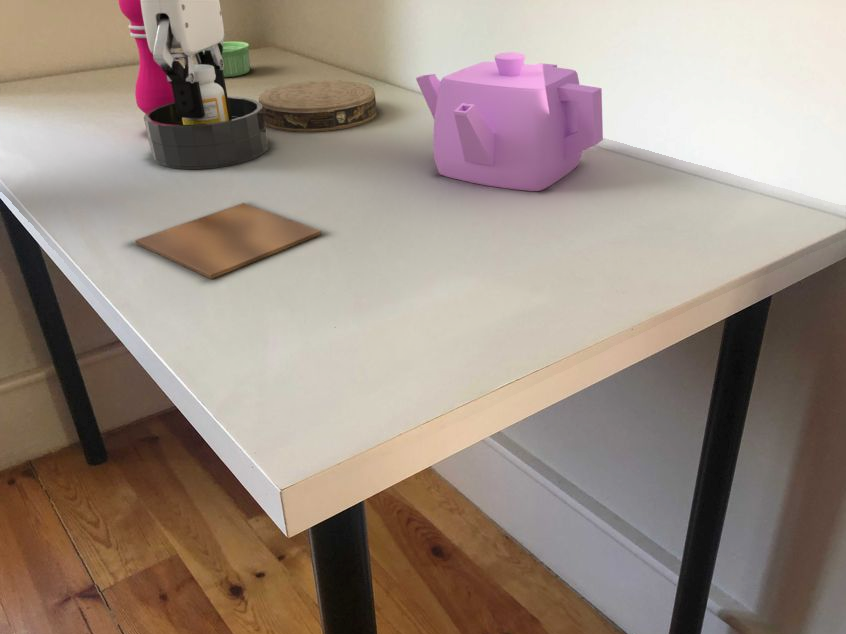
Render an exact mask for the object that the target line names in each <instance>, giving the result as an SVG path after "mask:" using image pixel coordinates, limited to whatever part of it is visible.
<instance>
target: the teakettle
mask: <svg viewBox="0 0 846 634" xmlns="http://www.w3.org/2000/svg"><path fill="white" fill-rule="evenodd" d="M525 60H526V55H525V54H523V53H520V52H500V53H497V54H495V55H494V61H482V62H479V63H476V64H473V65H469V66H467V67H464V68H462V69H460V70H456V71H454V72H452V73H450V74H447V75H445V76H443V77H442V79H441V80H440V79H439V78H438V77H437V74H436V73H431V74H423V75H420V76H417V77H416V78H415V79H416V82H417V85H418V87H419V90H420V92H421V93H422V95H423V98H424V101H425V102H426V105H427V107H428V109H429V111H430V114H431V116H432V118H433V134H432V136H433V138H432V144H433V145H432V151H433V152H432V153H433V159H434V163H435V165H436V168H437V171H438V173H439V175H440V176H444V177H446V178H450V179H455V180H459V181H463V182H467V183H472V184H477V185H481V186H482V185H483V186H487V187H495V188H502V189H509V190H517V191H526V192H541V191H544V190H545V189H547V188H549V187H550V186H553V185H554V184H556V183H557V182H558V181H560V180H561V179H562V178H564V177H565V176H567V175H568V174H570V173H571V172H572V171H573V170H574V169H576V168H577V167H578V165H579V164H580V161H581V158H582V155H583V152H584V151H586V150H588V149H590V148H593V147H595V146H597V145H598V144H599V143H601V142H603V141H604V131H603V130H604V129H603V128H604V127H603V93H602V91H603V90H602V87H597V86H596V87H595V86H590V85H583V84H580V79H579V74H578V72H577V71H576V70H575V69H570V68H564V67H558V64H552V63H543V62H540V63H537V64H528V63H525Z"/></svg>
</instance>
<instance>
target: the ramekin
mask: <svg viewBox="0 0 846 634" xmlns="http://www.w3.org/2000/svg"><path fill="white" fill-rule="evenodd" d="M204 52H205V51H203V53H204ZM222 59H223V62H224V67H223V69H219V70H223V74H224V78H233V77H239V76H242V75H245V74H248V73H249V72H250V70H251V63H250V44H249V43H248V42H246V41H245V42H244V41H233V40H232V41H224V42H223V52H222Z"/></svg>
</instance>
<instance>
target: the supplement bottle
mask: <svg viewBox="0 0 846 634" xmlns="http://www.w3.org/2000/svg"><path fill="white" fill-rule="evenodd" d="M183 67H184V68H185V65H183ZM194 75H195V81H194V82H199V86H200V91H201V96H202V101H203V107H204V112H205V116H204V117H202V118H182V121H183V125H196V124H208V123H215V122H222V121H228V120H229V119H228V113H227V107H226V100H225V94H224V90H223V88H222V87H221V86H220V85H219V84H217V83H214V80H215V77H216V75H215V70H214V67H213V66H211V65H203V64H200V65H198V64H194Z"/></svg>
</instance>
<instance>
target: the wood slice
mask: <svg viewBox="0 0 846 634" xmlns="http://www.w3.org/2000/svg"><path fill="white" fill-rule="evenodd" d="M376 101H377V100H376V90H375V87H373V86H371V85H369V84H366V83H362V82H357V81H347V80H314V81H313V80H312V81H305V82H304V81H302V82H295V83H289V84H284V85H279V86H275V87H273V88H271V89H270V88H269V89H267V90H265V91H264V92H262V93H261V94H259V96H258V102H259V103H261V104H262V108H263V115H264V121H265V127H269V128H272V129H274V130H275V129H276V130H280V131H287V132H301V133H302V132H303V133H304V132H305V133H312V132H314V133H315V132H327V131H329V132H330V131H334V130H335V131H336V130H342V129H343V130H344V129H349V128H353V127H356V126H359V125H363V124H365V123H367V122H369V121H372V120H373V119H374V118H375V117H376V116H377V115H378V114H377V113H378V112H377V102H376Z"/></svg>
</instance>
